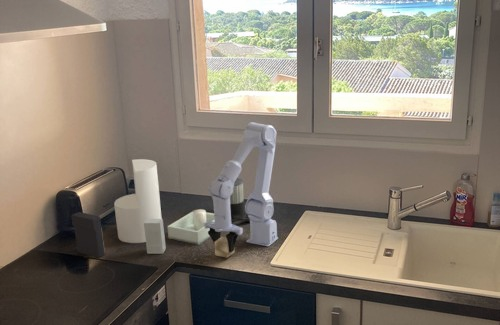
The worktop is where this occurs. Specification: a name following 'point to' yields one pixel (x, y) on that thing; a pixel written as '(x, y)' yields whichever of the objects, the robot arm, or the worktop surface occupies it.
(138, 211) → the white stepped cylinder
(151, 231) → the skincare box
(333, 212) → the worktop surface
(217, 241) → the beech block
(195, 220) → the ivory cylinder
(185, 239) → the tote
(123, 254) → the worktop surface
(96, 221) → the calculator
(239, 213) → the milk frother
